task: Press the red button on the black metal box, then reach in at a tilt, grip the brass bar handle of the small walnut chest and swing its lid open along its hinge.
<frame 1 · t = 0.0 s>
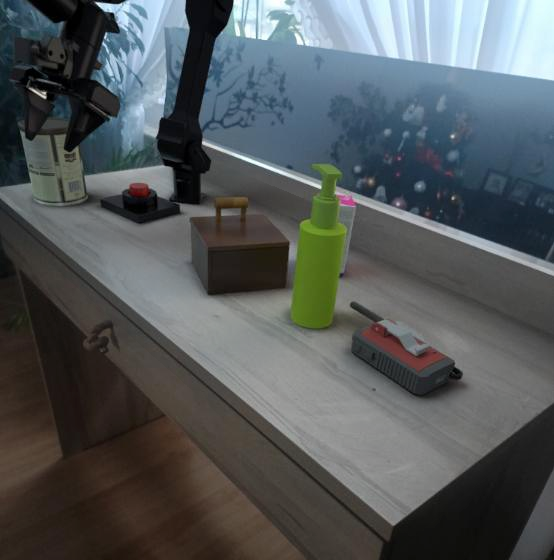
hand: (47, 145, 79), 15 cm above the table, tool tilted 35°, fingers open, 9 cm apart
coffee can: (61, 199, 104), on the table
button box: (140, 210, 101), on the table
walkie-talkie: (385, 352, 66), on the table
supplement box: (325, 268, 86), on the table
soap dispenser: (309, 317, 72), on the table
button: (139, 189, 99), point 4 cm above the table, slide at 0.1 cm
lid: (238, 220, 76), point 9 cm above the table, hinge at 0.0°
chest: (237, 275, 81), on the table
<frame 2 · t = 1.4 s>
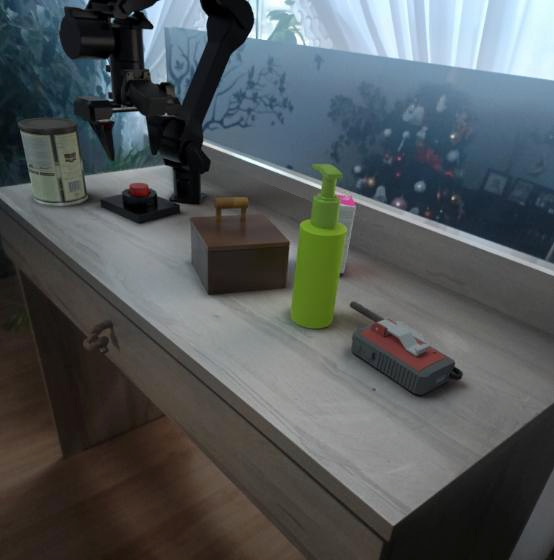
hand: (133, 157, 95), 10 cm above the table, tool pointing down, fingers open, 9 cm apart
nothing on the table moved.
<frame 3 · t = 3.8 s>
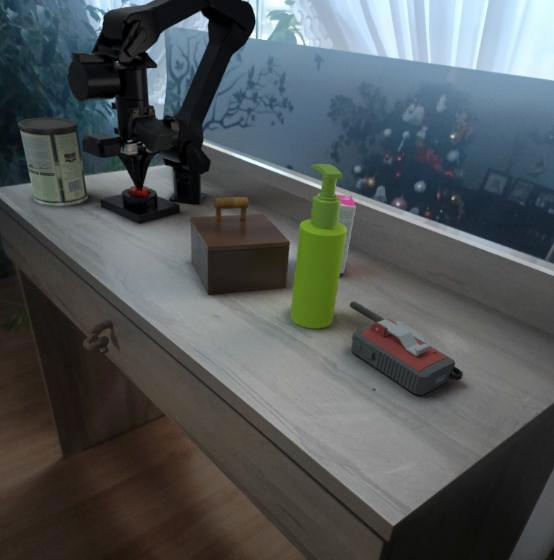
hand: (139, 188, 99), 4 cm above the table, tool pointing down, fingers closed, pressing on button
button: (139, 192, 99), point 3 cm above the table, slide at -0.4 cm, touching gripper
everything else where it was.
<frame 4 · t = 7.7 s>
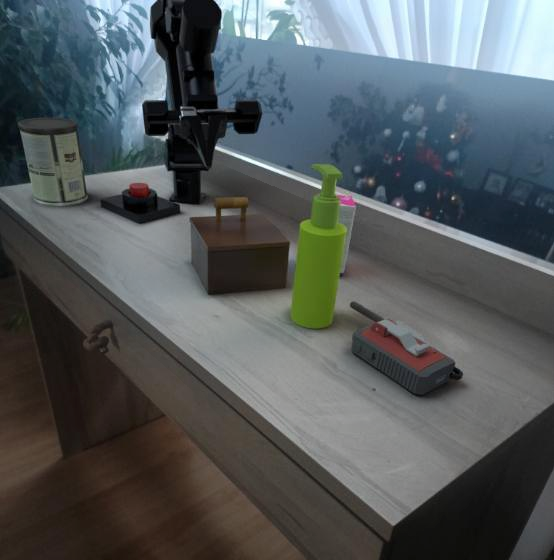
hand: (209, 167, 82), 13 cm above the table, tool tilted 45°, fingers closed
button: (139, 189, 99), point 4 cm above the table, slide at 0.1 cm
everything else where it was.
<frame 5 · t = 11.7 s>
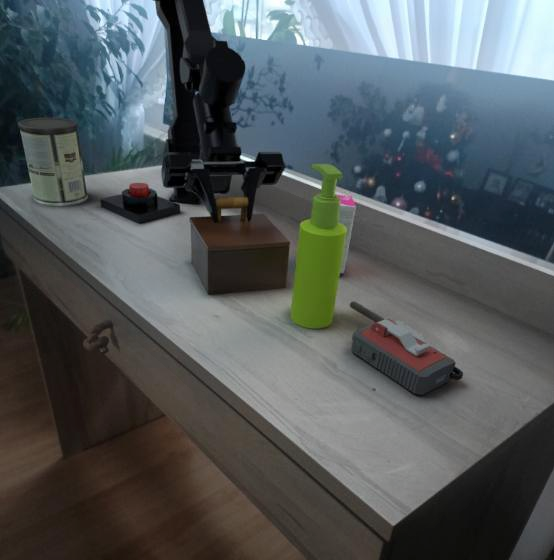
hand: (233, 220, 79), 8 cm above the table, tool tilted 45°, fingers closed on lid, 5 cm apart
lid: (238, 220, 76), point 9 cm above the table, hinge at 0.0°, touching gripper
everything else where it was.
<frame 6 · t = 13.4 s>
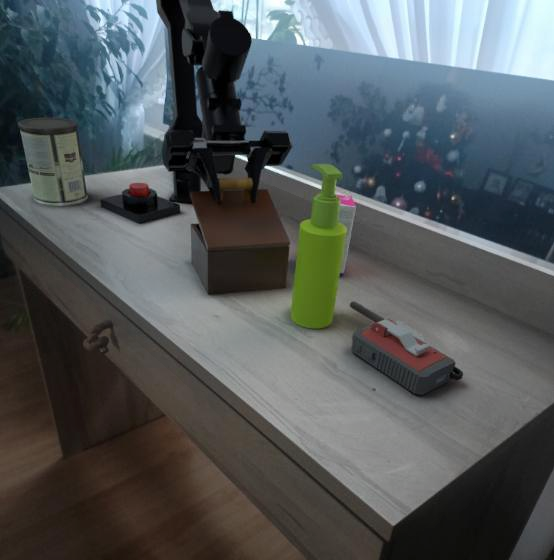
hand: (236, 203, 76), 11 cm above the table, tool tilted 45°, fingers closed on lid, 5 cm apart
lid: (240, 208, 74), point 11 cm above the table, hinge at 20.8°, touching gripper
everything else where it was.
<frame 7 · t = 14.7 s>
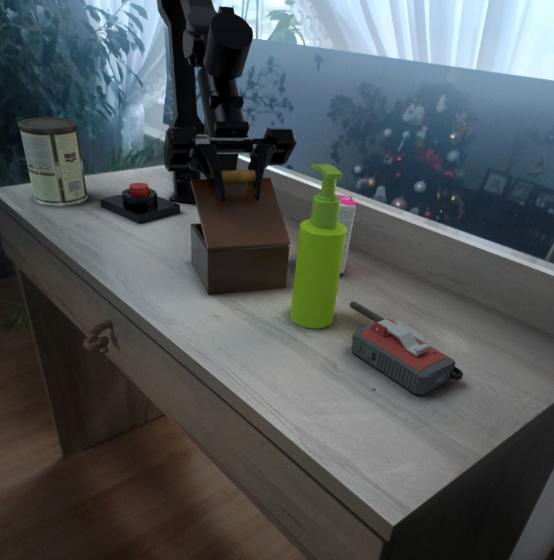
hand: (241, 200, 74), 12 cm above the table, tool tilted 45°, fingers closed on lid, 5 cm apart
lid: (242, 204, 73), point 12 cm above the table, hinge at 31.7°, touching gripper
everything else where it was.
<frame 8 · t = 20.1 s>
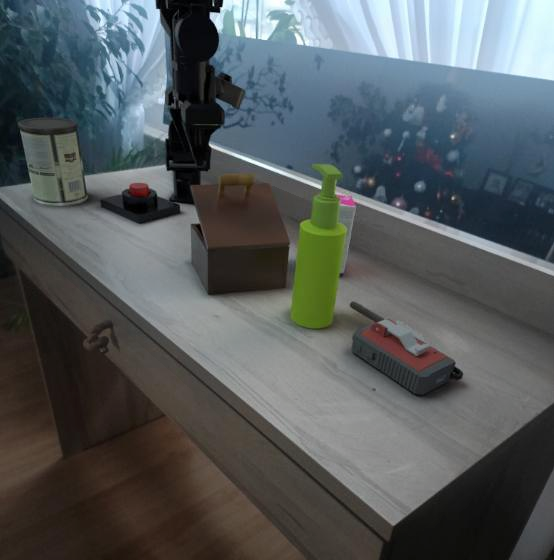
hand: (193, 158, 90), 12 cm above the table, tool pointing down, fingers open, 9 cm apart
lid: (241, 206, 74), point 11 cm above the table, hinge at 26.5°
everything else where it was.
at the end: button pushed in 1.2 cm at the most during the clip, back to where it started at the end; button slide at 0.1 cm; lid at +26° (first picture: +0°) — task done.
